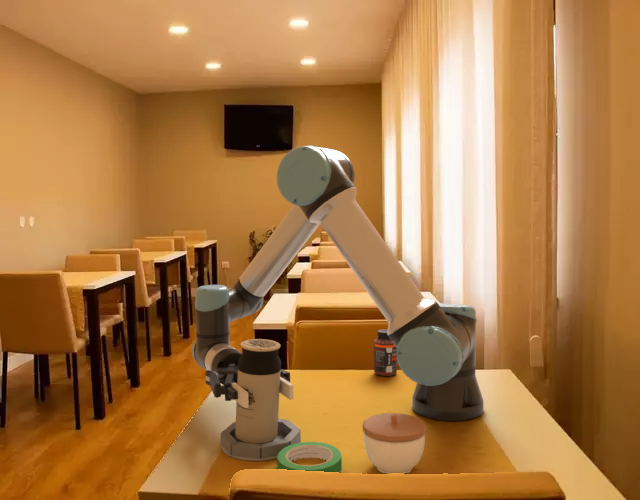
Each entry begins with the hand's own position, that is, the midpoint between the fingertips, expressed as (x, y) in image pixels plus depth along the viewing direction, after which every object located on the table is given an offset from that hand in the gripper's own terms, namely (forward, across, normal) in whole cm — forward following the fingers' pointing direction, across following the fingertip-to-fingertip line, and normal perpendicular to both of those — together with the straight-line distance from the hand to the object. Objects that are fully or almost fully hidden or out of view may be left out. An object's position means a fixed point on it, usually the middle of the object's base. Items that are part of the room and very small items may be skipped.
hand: (269, 396), depth 111 cm
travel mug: (-6, +1, -10) cm, 11 cm away
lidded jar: (+16, -16, -11) cm, 25 cm away
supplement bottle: (-30, -45, -11) cm, 55 cm away
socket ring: (-5, 0, -11) cm, 12 cm away
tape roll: (+9, -4, -11) cm, 15 cm away
